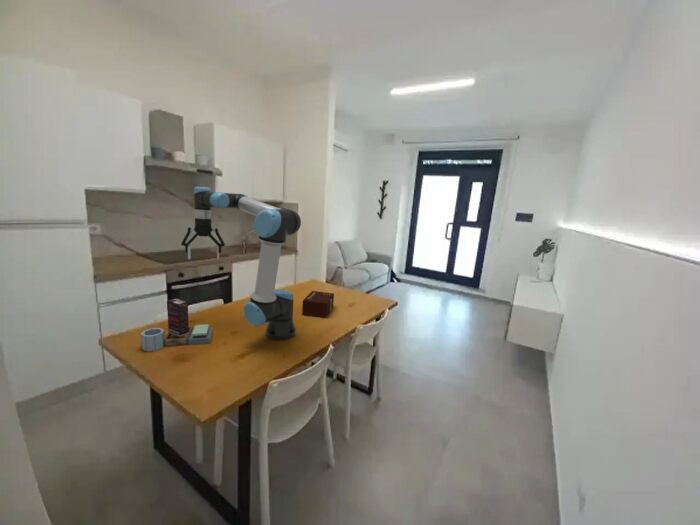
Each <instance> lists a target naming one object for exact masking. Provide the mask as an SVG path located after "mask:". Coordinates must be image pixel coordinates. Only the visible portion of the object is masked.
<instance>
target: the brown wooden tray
mask: <svg viewBox="0 0 700 525" xmlns="http://www.w3.org/2000/svg"><path fill="white" fill-rule="evenodd" d="M192 329H194V326H189V334H186V335H184V336H181V337H179V336H177V335H174V334H171V333H169V331H167V334H166V336H164V347H177V346H189V345H188V339H189V337H190V334H191V332H192ZM164 347H163V348H164Z"/></svg>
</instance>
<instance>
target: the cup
mask: <svg viewBox="0 0 700 525" xmlns="http://www.w3.org/2000/svg"><path fill="white" fill-rule="evenodd" d="M140 339H141V350H143V351H144V352H155V351H158V350H161V349H162V348H164V339H165V330H164V329H163V328H160V327H154V328H149V329H145V330H143V331H141V333H140Z"/></svg>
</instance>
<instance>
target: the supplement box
mask: <svg viewBox="0 0 700 525" xmlns="http://www.w3.org/2000/svg"><path fill="white" fill-rule="evenodd" d="M188 302H189V301H185V300H182V299H180V298H173V299H168V300H166V306H167V310H166V312H167V329H168V331H167V332H169V333H171V334H174V335H177V336H179V337H181V336H184V335H186V334H189V327H190V326H189V304H188Z"/></svg>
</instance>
